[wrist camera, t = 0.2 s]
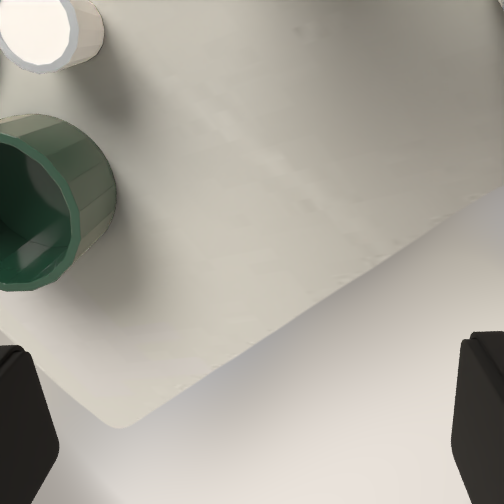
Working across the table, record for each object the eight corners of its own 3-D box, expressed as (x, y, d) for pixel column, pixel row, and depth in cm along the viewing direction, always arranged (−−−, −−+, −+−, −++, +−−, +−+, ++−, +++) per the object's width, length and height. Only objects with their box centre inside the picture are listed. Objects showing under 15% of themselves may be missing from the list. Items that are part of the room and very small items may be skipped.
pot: (-43, 119, 45) (-116, 135, 37) (101, 108, 44) (58, 122, 36) (-1, 254, 51) (-56, 293, 43) (129, 248, 50) (96, 288, 41)
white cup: (56, 80, 43) (16, 86, 37) (20, 0, 41) (-30, -9, 34) (123, 55, 42) (93, 57, 36) (90, -30, 40) (51, -44, 33)
